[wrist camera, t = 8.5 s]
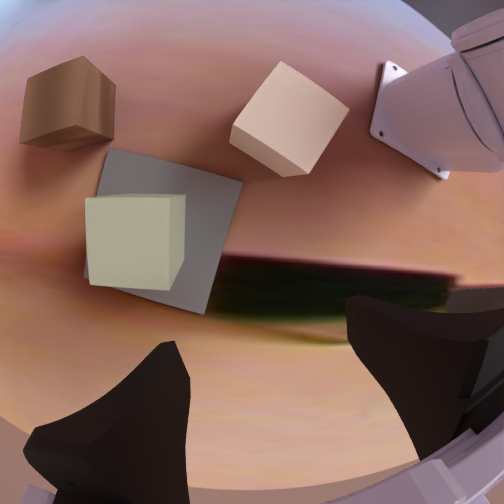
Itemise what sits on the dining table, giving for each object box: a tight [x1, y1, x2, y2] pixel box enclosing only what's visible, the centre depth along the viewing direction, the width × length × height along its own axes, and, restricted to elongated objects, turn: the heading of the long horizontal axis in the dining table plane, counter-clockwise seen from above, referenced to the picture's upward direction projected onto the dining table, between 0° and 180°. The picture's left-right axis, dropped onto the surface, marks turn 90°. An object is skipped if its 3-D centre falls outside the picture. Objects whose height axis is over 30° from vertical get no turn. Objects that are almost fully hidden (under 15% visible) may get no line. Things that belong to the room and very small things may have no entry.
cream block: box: [229, 61, 350, 177], centre depth 15 cm, size 4×4×6 cm
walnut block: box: [20, 56, 116, 151], centre depth 13 cm, size 4×4×6 cm
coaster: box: [84, 148, 243, 315], centre depth 18 cm, size 10×10×1 cm
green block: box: [85, 194, 186, 291], centre depth 15 cm, size 4×4×6 cm
